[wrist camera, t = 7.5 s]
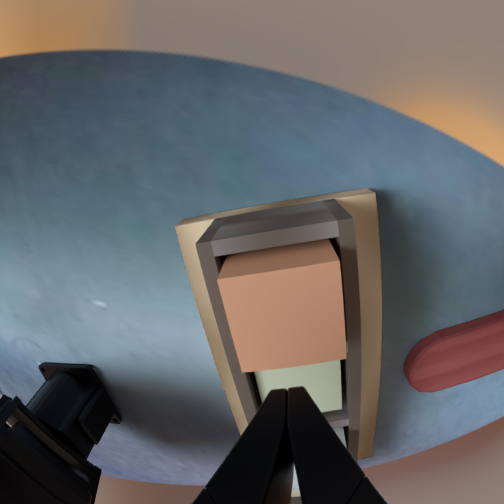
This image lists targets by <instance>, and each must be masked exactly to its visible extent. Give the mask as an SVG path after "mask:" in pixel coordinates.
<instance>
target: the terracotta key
mask: <svg viewBox="0 0 504 504" xmlns="http://www.w3.org/2000/svg"><path fill="white" fill-rule="evenodd" d="M217 282H218V286H219V290H220V293H221V297H222V301H223V305H224V309H225V312H226V316H227V320H228V324H229V327H230V331H231V335H232V338H233V342H234V346H235V349H236V353H237V357H238V360H239V364H240V367H241V371H242V373H243V372H254V371H264V370H273V369H281V368H289V367H297V366H304V365H311V364H318V363H324V362H330V361H336V360H342V359H346V338H345V320H344V306H343V293H342V281H341V270H340V260H339V258H338V256H337V254H336V252H335V250H334V249H333V247H332V245H331V243H330V241H329V239H328V238H327V239H321V240H315V241H308V242H302V243H296V244H290V245H283V246H277V247H271V248H265V249H259V250H252V251H246V252H240V253H234V254H228V255H227V257H226V259H225V262H224V264H223V266H222V269H221V271H220V273H219V276H218V278H217Z"/></svg>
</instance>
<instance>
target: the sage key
mask: <svg viewBox="0 0 504 504" xmlns="http://www.w3.org/2000/svg"><path fill="white" fill-rule="evenodd" d="M254 373H255V377H256V381H257V385H258V389H259V393H260V396H261V400H262V403H263V401H264V399H265V398H266V396H267V395H268V393H269V392H270V390H272V389H281V388H286V389H287V390H288V388H290V387H298V386H303V387H305V389H306V390H307V392H308V393H309V395H310V396H311V398H312V399H313V400H314V402H315V403H316V405H317V406H318V408H319V409H320V411H321V412H327V411H333V410H339V409H342V394H341V368H340V360H336V361H330V362H324V363H318V364H311V365H304V366H297V367H289V368H281V369H273V370H264V371H254Z"/></svg>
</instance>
